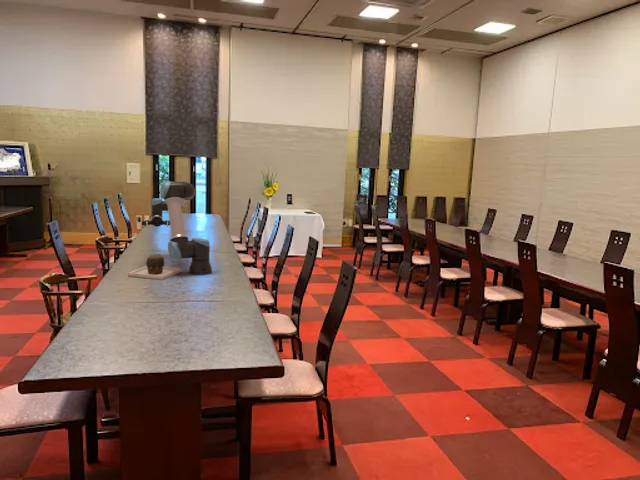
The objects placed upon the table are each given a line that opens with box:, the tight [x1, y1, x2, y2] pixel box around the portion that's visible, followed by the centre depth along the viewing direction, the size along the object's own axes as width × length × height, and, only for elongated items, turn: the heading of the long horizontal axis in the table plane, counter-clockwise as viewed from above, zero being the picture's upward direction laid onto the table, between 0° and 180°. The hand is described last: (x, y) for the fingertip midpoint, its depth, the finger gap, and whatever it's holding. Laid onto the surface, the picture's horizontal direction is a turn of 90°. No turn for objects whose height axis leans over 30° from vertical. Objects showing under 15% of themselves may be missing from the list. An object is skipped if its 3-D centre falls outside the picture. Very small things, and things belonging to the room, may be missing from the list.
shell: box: [145, 253, 165, 274], centre depth 310 cm, size 11×11×12 cm
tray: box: [127, 265, 182, 281], centre depth 310 cm, size 24×24×2 cm
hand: (157, 224), depth 326 cm, fingers open, 13 cm apart
